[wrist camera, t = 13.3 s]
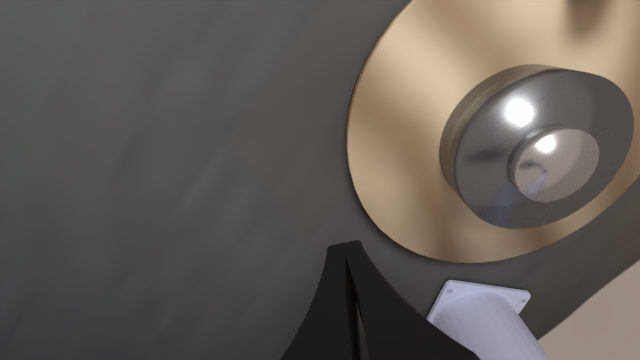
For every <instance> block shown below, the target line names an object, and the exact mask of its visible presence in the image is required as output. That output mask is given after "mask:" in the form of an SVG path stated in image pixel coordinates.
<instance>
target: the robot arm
mask: <svg viewBox="0 0 640 360" xmlns="http://www.w3.org/2000/svg"><path fill="white" fill-rule="evenodd" d="M529 299H530V294H529V292H528V291H526V290H519V289H512V288H505V287H498V286H491V285H484V284H477V283H470V282H463V281H456V280H448V281H447V282H446V283H445V284H444V286H443V288H442V290H441V291H440V293H439V295H438V297H437V299H436V301H435V303H434V305H433V306H432V308H431V310H430V312H429V314H428V316H427V318H424V317H423V316H422V315H421V314H419V313H418V312H417V311H416V310H415V309H414V308H413V307H412V306H411V305H409V304H408V303H407V302H406V301H405V300H404V299H403V298H402V297H401V296H400V295H399V294H398V293H397V292H396V291H395V290H394V289H393V287H392V286H391V285H390V284H389V283H388V282H387V281H386V279H385V278H384V277H383V276H382V275H381V273H380V272H379V271H378V269H377V268H376V267H375V265H374V264H373V263H372V261H371V260H370V258H369V257H368V255H367V253H366V252H365V250H364V248H363V246H362V244H361V242H360V241H359V240H355V241H350V242H346V243H341V244H336V245H331V246H329V247H328V248H327V256H326V261H325V265H324V269H323V273H322V276H321V279H320V283H319V286H318V288H317V291H316V294H315V296H314V299H313V301H312V304H311V306H310V308H309V311H308V313H307V315H306V317H305V319H304V321H303V323H302V325H301V327H300V328H299V330H298V332H297V334H296V336H295V337H294V339H293V341H292V342H291V344H290V346H289V347H288V349H287V350H286V352H285V353H284V355H283V356H282V358H281V359H280V360H362V357H361V348H360V337H359V326H358V315H357V305H358V309H359V312H360V316H361V319H362V322H363V326H364V329H365V334H366V340H367V345H368V351H369V356H370V360H551V359H550V358H549V357H548V355H547V354H546V352H545V351H544V350H543V348H542V347H541V346H540V344H539V343H538V341H537V340H536V339H535V337H534V336H533V335H532V333H531V332H530V330H529V329H528V328H527V326H526V325H525V324H524V322H523V321H522V319H521V318H520V317H519V315H518V314H519V313H520V311H521V310H522V308H523V307H524V306H525V304H526V303H527V301H528V300H529ZM356 302H357V304H356Z"/></svg>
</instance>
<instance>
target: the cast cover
mask: <svg viewBox="0 0 640 360" xmlns="http://www.w3.org/2000/svg"><path fill="white" fill-rule="evenodd" d="M633 132H634V117H633V110H632V108H631V105H630V102H629V100H628V98H627V97H626V95H625V93H624V92H623V91H622V90H621V89H620V88H619V87H618V86H617V85H616V84H615V83H613V82H612V81H610V80H609V79H606V78H604V77H602V76H600V75H596V74H592V73H588V72H582V71H577V70H571V69H566V68H560V67H555V66H549V65H542V64H525V65H520V66H515V67H511V68H508V69H505V70H503V71H500V72H498V73H496V74H494V75H492V76H490V77H488V78H487V79H485V80H483V81H482V82H481V83H479V84H478V85H477V86H475V87H474V88H473V89H472V90H471V91H470V92H468V93H467V94H466V95H465V96H464V98H463V99H462V100H461V101H460V102H459V103H458V105H457V106H456V107H455V109H454V110H453V111H452V113H451V115H450V117H449V118H448V120H447V122H446V125H445V127H444V129H443V132H442V136H441V139H440V145H439V162H440V167H441V171H442V174H443V176H444V178H445V180H446V181H447V183H448V184H449V185H450V187H451V188H452V189H453V190H454V191H455V192H456V194H457V195H458V196H459V197H460V198H461V199H462V200H463V201H464V203H465V204H466V205H467V206H468V207H469V208H470V209H471V211H472V212H473V213H474V214H475V215H476V216H478V217H479V218H480V219H482V220H483V221H485V222H487V223H489V224H491V225H494V226H497V227H501V228H506V229H530V228H536V227H540V226H544V225H548V224H551V223H554V222H556V221H559V220H561V219H563V218H565V217H568V216H569V215H571V214H573V213H575V212H576V211H578V210H579V209H581V208H582V207H584V206H585V205H587V204H588V203H589V202H591V201H592V200H593V199H594V198H595V197H597V196H598V195H599V194H600V193H601V192H602V191H603V190H604V189H605V188H606V187H607V185H608V184H609V183H610V182H611V181H612V180H613V178H614V177H615V175H616V174H617V173H618V171H619V170H620V168H621V166H622V164H623V163H624V161H625V159H626V156H627V154H628V152H629V149H630V146H631V143H632V138H633Z"/></svg>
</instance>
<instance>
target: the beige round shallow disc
mask: <svg viewBox="0 0 640 360" xmlns="http://www.w3.org/2000/svg"><path fill="white" fill-rule="evenodd" d="M525 64H542V65H549V66H555V67H560V68H566V69H571V70H577V71H582V72H588V73H592V74H596V75H600V76H602V77H604V78H606V79H609V80H610V81H612V82H613V83H615V84H616V85H617V86H618V87H619V88H620V89H621V90H622V91H623V92H624V93H625V95H626V97H627V98H628V100H629V102H630V105H631V108H632V110H633V117H634V132H633V138H632V143H631V146H630V149H629V152H628V154H627V156H626V159H625V161H624V163H623V164H622V166H621V168H620V170H619V171H618V173H617V174H616V175H615V177H614V178H613V180H612V181H611V182H610V183H609V184H608V185H607V187H606V188H605V189H604V190H603V191H602V192H601V193H600V194H599V195H598V196H597V197H595V198H594V199H593V200H592V201H591V202H589V203H588V204H587V205H585V206H584V207H582V208H581V209H579V210H578V211H576V212H575V213H573V214H571V215H569V216H568V217H565V218H563V219H561V220H559V221H556V222H554V223H551V224H548V225H544V226H540V227H536V228H530V229H506V228H501V227H497V226H494V225H491V224H489V223H487V222H485V221H483V220H482V219H480V218H479V217H478V216H476V215H475V214H474V213H473V212H472V211H471V209H470V208H469V207H468V206H467V205H466V204H465V203H464V201H463V200H462V199H461V198H460V197H459V196H458V195H457V194H456V192H455V191H454V190H453V189H452V188H451V187H450V185H449V184H448V183H447V181H446V180H445V178H444V176H443V174H442V171H441V167H440V162H439V145H440V139H441V136H442V132H443V129H444V127H445V125H446V122H447V120H448V118H449V117H450V115H451V113H452V111H453V110H454V109H455V107H456V106H457V105H458V103H459V102H460V101H461V100H462V99H463V98H464V96H465V95H466V94H467V93H468V92H470V91H471V90H472V89H473V88H474V87H475V86H477V85H478V84H479V83H481V82H482V81H483V80H485V79H487V78H488V77H490V76H492V75H494V74H496V73H498V72H500V71H503V70H505V69H508V68H511V67H515V66H520V65H525ZM345 144H346V153H347V162H348V165H349V169H350V173H351V177H352V180H353V183H354V187H355V190H356V192H357V194H358V197H359V199H360V201H361V203H362V205H363V207H364V208H365V210H366V212H367V213H368V215H369V216H370V218H371V219H372V220H373V221H374V222H375V224H376V225H377V226H378V227H379V228H380V229H381V230H382V231H383V232H384V233H385V234H386V235H388V236H389V237H390V238H391V239H392V240H394V241H395V242H397V243H398V244H400V245H402V246H403V247H405V248H407V249H409V250H411V251H413V252H415V253H418V254H420V255H423V256H426V257H430V258H433V259H437V260H443V261H448V262H459V263H481V262H491V261H498V260H504V259H508V258H512V257H516V256H520V255H523V254H526V253H529V252H532V251H535V250H538V249H540V248H543V247H545V246H547V245H549V244H552V243H554V242H556V241H558V240H560V239H562V238H564V237H565V236H567V235H569V234H571V233H573V232H574V231H576V230H577V229H579V228H581V227H582V226H584V225H585V224H587V223H588V222H590V221H591V220H592V219H594V218H595V217H596V216H598V215H599V214H600V213H601V212H603V211H604V210H605V209H606V208H608V207H609V206H610V205H611V204H612V203H613V202H614V201H615V200H616V199H617V198H619V197H620V196H621V195H622V194H623V193H624V192H625V191H626V189H627V188H628V187H629V186H630V185H631V184H632V183H633V182H634V181H635V180H636V179H637V177H638V176H639V175H640V0H410V1H409V2H408V3H407V4H406V5H405V6H404V7H403V8H402V9H401V10H400V11H399V13H398V14H397V15H396V16H395V17H394V18H393V19H392V20H391V21H390V23H389V24H388V26H387V27H386V28H385V30H384V31H383V32H382V34H381V35H380V36H379V38H378V39H377V40H376V42H375V44H374V46H373V47H372V49H371V51H370V52H369V54H368V56H367V58H366V59H365V61H364V63H363V66H362V68H361V70H360V73H359V75H358V77H357V80H356V82H355V85H354V89H353V92H352V95H351V99H350V102H349V107H348V114H347V120H346V140H345Z"/></svg>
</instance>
